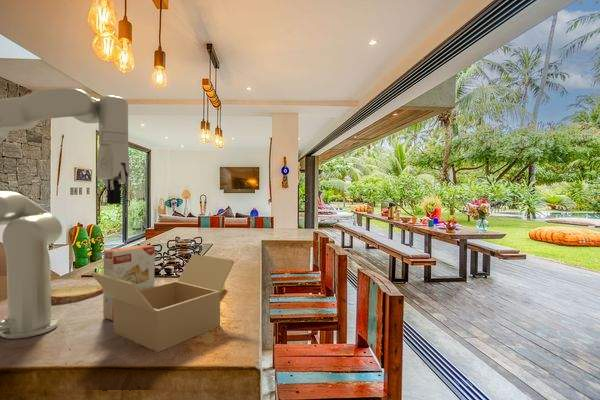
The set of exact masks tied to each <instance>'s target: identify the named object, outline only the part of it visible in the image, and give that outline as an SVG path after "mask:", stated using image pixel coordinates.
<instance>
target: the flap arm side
mask: <svg viewBox="0 0 600 400" xmlns="http://www.w3.org/2000/svg"><path fill="white" fill-rule="evenodd" d="M89 273H90V275H91V276H92V277H93V278H94V279H95V281H96V282H97V283H98V285H101V286H102V287H103V288H104V289H105V290H106V292H107V293H108V294H109V295H110V296H111V297H112V298H113V299H116V300H119V301H122V302H125V303H128V304H131V305H134V306H137V307H140V308H143V309H146V310H149V311H152V312H155V311H156V310H155V309H154V308H153V307H152V305H151V304H150V303H149V302H148V301H147V299H146V298H145V297H144V296H143V294H142V293H141V292H140V291H139V290H138V288H137V287H136V286H135V285H134V283H132V282H129V281H125V280H121V279H118V278H114V277H110V276H107V275H104V273H103V274H102V273H98V272H94V271H90V272H89Z"/></svg>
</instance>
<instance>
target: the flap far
mask: <svg viewBox="0 0 600 400" xmlns="http://www.w3.org/2000/svg"><path fill="white" fill-rule="evenodd" d="M234 264H235V260H232V259H226V258H221V257H220V258H219V257H213V256H207V255H202V254H196V253H192V254H191V256H190V258H189V260H188V261H187V263H186V265H185V267H184V269H183V270H182V272H181V274H180V276H179V278H178V280H177V281H178V282H183V283H187V284H191V285H195V286H200V287H204V288H208V289H212V290H216V291H221V289H222V287H223V285H224V283H225V282H226V280H227V279H228V276H229V274H230V272H231V271H232V267H233V266H234ZM225 284H226V283H225Z"/></svg>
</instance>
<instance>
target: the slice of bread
mask: <svg viewBox="0 0 600 400" xmlns="http://www.w3.org/2000/svg"><path fill="white" fill-rule="evenodd" d="M99 295H103V287H102V286H101V285H100V284H89V285H88V284H87V285H77V286H70V287H68V286H67V287H61V288H51V306H52V305H60V304H61V305H62V304H68V303H73V302H74V303H75V302H78V301H82V300H88V299H91V298H94V297H97V296H99Z"/></svg>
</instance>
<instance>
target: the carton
mask: <svg viewBox="0 0 600 400" xmlns="http://www.w3.org/2000/svg"><path fill="white" fill-rule="evenodd" d="M139 291H140V292H141V293H142V294H143V296H144V297H145V298H146V299H147V301H148V302H149V303H150V304H151V305H152V307H153V308H154V309H155V310H156V311H155V312H152V311H149V310H146V309H143V308H140V307H137V306H134V305H131V304H128V303H125V302H122V301H119V300H116V299H113V306H114V321H113V334H115V335H117V336H120V337H123V339H126V340H128V341H131V342H133V343H135V344H137V345H140V346H142V347H145V348H146V349H149V350H151V351H153V350H154V351H153V352H156V353H159V352H161V351H164V350H166V349H169V348H171V347H173V346H176V345H179V344H181V343H183V342H186V341H189V340H190V339H193V338H195V337H197V336H199V335H202V334H204V333H206V332H209V331H211V330H213V329H216V328H218V327H220V326H221V295H220V291H216V290H212V289H208V288H204V287H200V286H195V285H191V284H187V283H183V282H178V280H174V281H171V282H167V283H163V284H159V285H154V287H150V288H146V289H142V290H139Z"/></svg>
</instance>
